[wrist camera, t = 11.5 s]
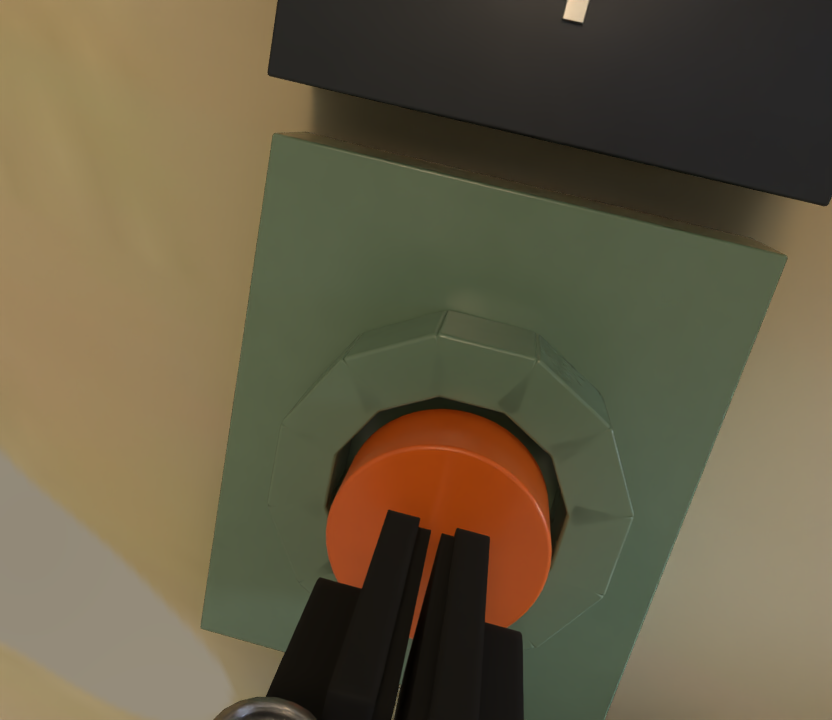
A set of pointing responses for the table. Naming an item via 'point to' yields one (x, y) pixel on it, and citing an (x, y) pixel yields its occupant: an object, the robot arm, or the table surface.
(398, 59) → the control panel
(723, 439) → the table surface
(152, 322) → the table surface
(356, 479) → the button
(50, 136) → the table surface
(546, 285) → the button housing
